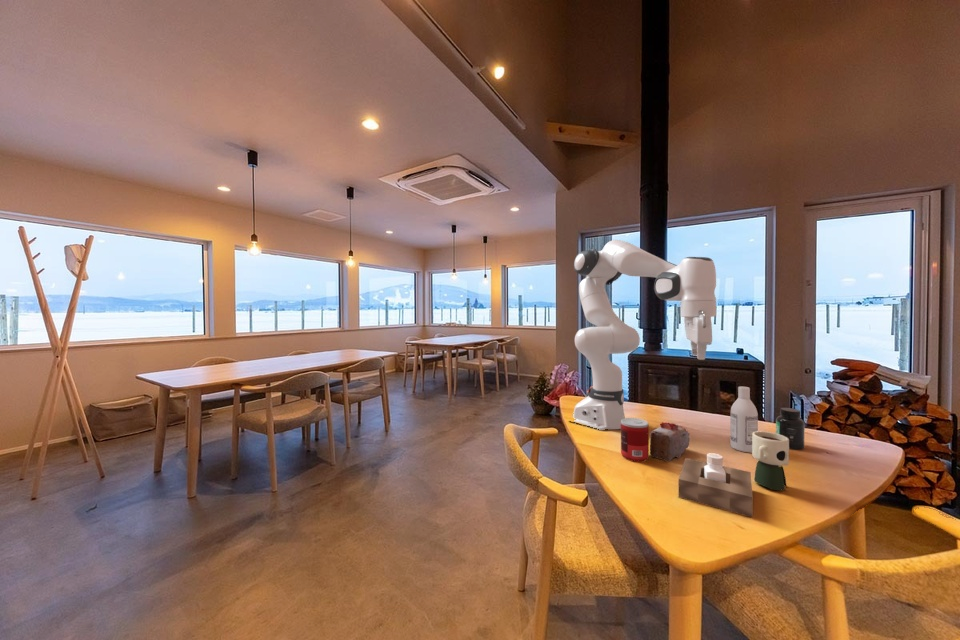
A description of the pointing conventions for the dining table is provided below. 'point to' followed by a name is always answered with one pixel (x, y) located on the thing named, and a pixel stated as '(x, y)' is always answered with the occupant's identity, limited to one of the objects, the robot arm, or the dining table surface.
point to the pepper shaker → (714, 468)
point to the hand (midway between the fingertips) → (698, 357)
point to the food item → (668, 441)
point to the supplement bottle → (791, 427)
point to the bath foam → (743, 421)
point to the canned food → (635, 439)
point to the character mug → (770, 459)
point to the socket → (717, 488)
